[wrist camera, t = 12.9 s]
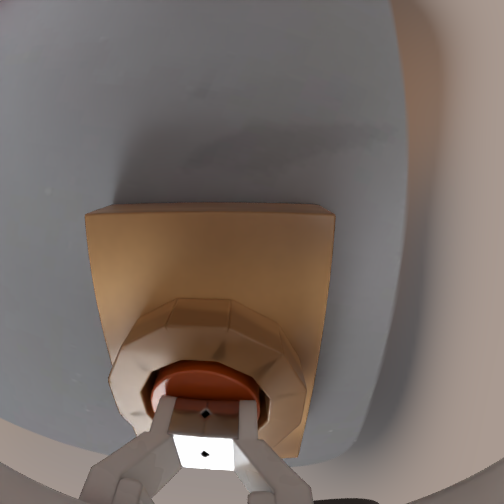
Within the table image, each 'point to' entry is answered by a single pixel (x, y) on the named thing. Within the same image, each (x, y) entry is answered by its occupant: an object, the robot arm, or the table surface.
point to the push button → (204, 382)
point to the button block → (214, 300)
